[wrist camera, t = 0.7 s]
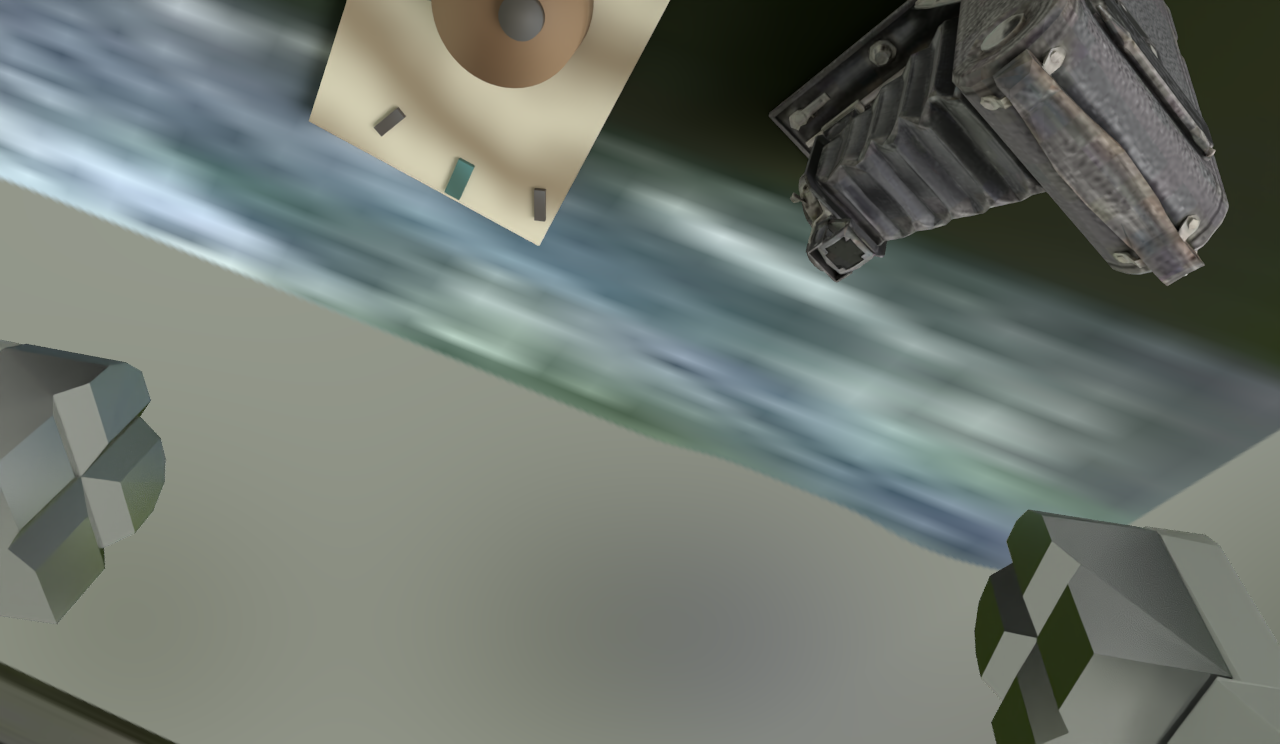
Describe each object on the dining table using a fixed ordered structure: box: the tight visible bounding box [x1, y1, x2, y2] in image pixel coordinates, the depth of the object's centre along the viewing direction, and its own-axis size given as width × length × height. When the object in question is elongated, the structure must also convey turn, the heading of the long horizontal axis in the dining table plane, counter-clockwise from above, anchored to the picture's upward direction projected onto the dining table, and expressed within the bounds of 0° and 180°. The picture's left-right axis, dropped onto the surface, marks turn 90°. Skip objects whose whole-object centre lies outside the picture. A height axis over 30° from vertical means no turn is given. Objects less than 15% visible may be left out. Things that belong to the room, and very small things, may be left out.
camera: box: [769, 0, 1229, 286], centre depth 37 cm, size 11×17×20 cm, turn 135°
